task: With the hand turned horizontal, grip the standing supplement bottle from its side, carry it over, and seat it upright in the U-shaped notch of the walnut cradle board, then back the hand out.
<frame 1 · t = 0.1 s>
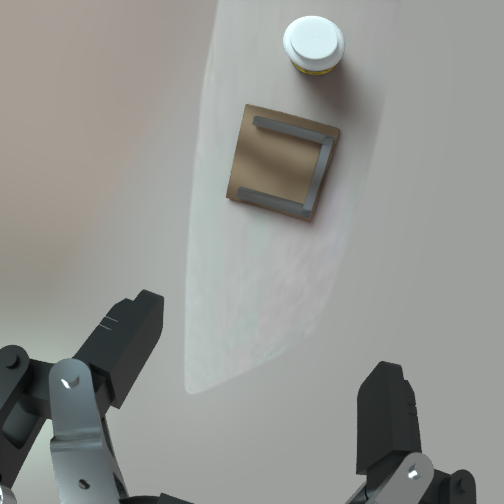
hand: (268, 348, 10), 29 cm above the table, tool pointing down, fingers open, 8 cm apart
notched cradle board: (280, 162, 36), on the table
supplement bottle: (314, 53, 29), on the table
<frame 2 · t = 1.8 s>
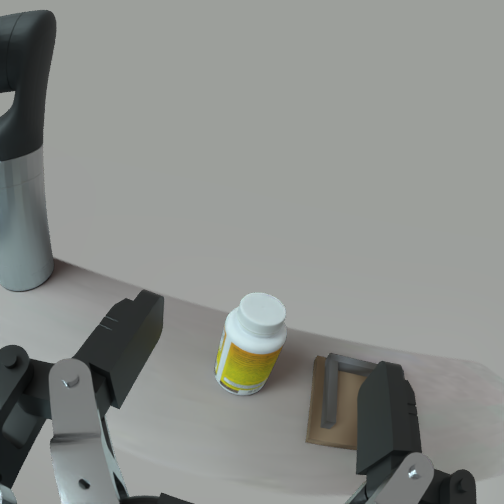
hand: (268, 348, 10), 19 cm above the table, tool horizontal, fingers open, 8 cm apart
notched cradle board: (360, 408, 29), on the table
supplement bottle: (239, 376, 31), on the table
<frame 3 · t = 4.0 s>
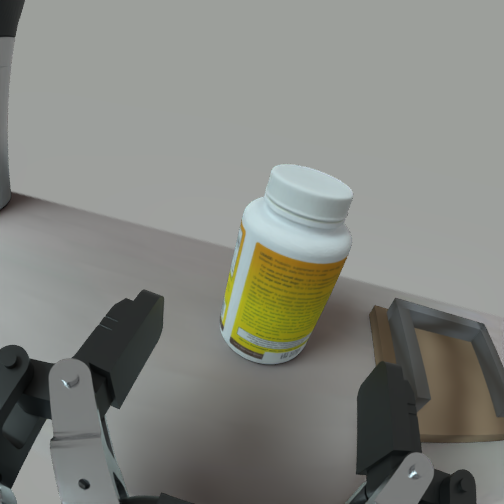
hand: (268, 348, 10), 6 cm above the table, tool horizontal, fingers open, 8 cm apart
notched cradle board: (442, 379, 18), on the table
supplement bottle: (260, 335, 19), on the table
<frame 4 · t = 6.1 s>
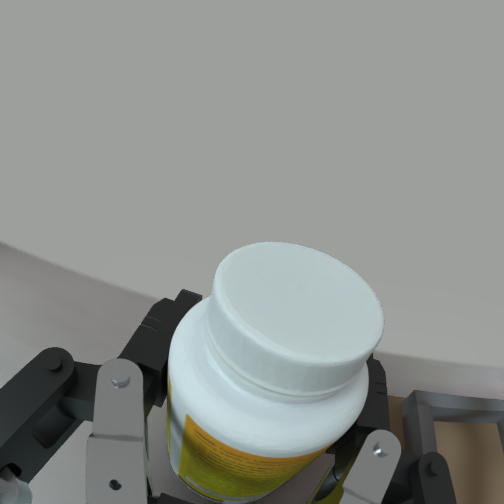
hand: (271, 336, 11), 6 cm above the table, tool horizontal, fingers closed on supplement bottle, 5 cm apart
notched cradle board: (458, 481, 11), on the table
supplement bottle: (227, 454, 12), on the table, touching gripper
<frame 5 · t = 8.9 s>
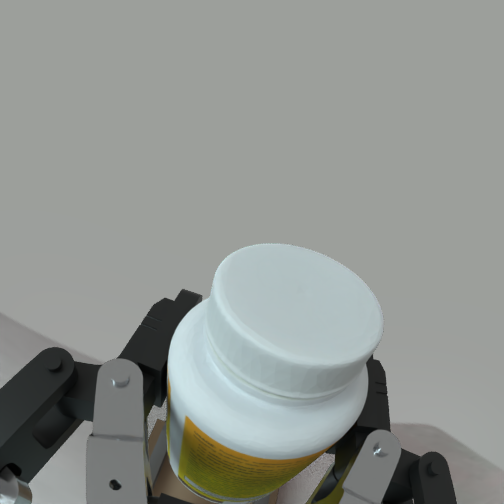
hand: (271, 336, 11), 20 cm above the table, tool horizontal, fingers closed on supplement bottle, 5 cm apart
notched cradle board: (203, 494, 20), on the table
supplement bottle: (226, 454, 12), point 14 cm above the table, touching gripper
when the fingers open (8 cm above the table, at t = 11.7 s): supplement bottle stays where it is, resting on notched cradle board.
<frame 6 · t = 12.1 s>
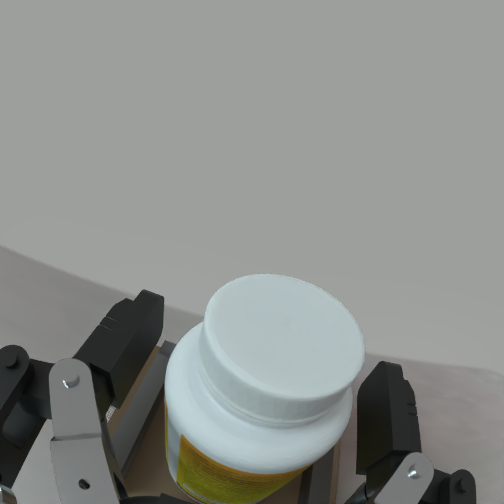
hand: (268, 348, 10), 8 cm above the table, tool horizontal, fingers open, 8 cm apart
notched cradle board: (221, 463, 13), on the table
supplement bottle: (223, 461, 12), point 1 cm above the table, touching notched cradle board
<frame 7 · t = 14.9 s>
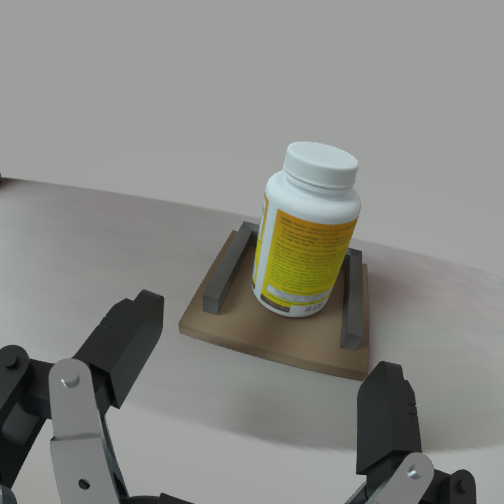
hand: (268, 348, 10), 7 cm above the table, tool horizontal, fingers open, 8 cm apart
notched cradle board: (286, 299, 22), on the table
supplement bottle: (288, 293, 22), point 1 cm above the table, touching notched cradle board
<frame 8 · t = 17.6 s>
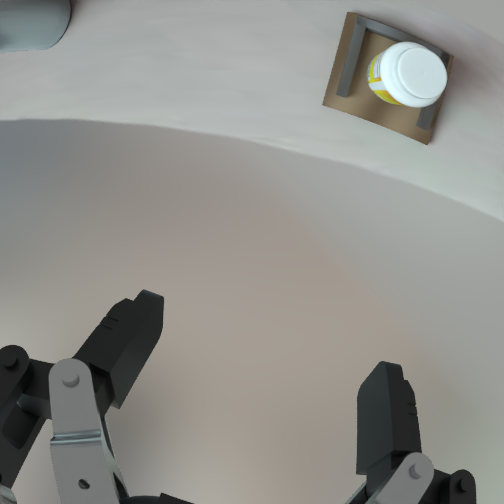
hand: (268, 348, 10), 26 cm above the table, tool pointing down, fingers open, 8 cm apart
notched cradle board: (389, 77, 26), on the table
supplement bottle: (391, 77, 25), point 1 cm above the table, touching notched cradle board
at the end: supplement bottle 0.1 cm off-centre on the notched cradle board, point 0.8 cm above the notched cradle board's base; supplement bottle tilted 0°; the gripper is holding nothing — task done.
